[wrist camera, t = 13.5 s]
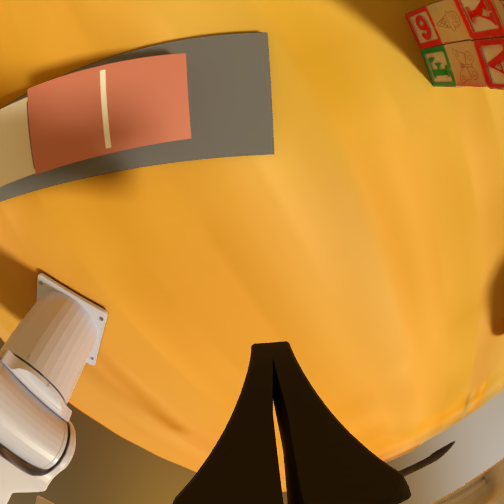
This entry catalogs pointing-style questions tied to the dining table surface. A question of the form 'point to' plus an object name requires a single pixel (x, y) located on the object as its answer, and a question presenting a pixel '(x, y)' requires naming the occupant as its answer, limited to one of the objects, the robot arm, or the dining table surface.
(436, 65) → the stack of blocks
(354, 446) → the robot arm
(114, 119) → the red domino
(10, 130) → the ivory domino
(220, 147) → the domino mat
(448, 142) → the dining table surface
